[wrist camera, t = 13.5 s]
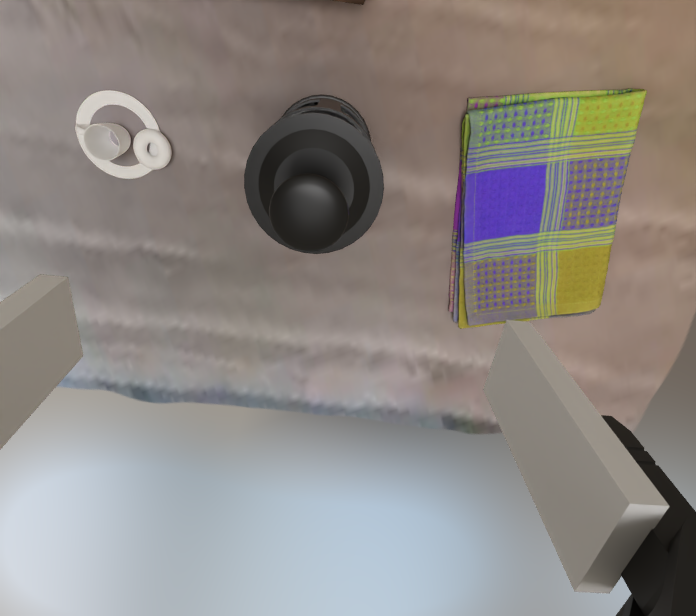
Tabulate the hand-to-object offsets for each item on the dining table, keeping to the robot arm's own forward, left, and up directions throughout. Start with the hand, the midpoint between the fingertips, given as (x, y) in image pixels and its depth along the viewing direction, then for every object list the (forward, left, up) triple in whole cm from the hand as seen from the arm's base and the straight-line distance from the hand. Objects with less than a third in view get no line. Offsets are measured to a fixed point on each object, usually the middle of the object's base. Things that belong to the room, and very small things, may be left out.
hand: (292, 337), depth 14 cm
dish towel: (+23, -4, -35) cm, 42 cm away
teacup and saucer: (-19, -4, -35) cm, 40 cm away
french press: (0, 0, -34) cm, 34 cm away
